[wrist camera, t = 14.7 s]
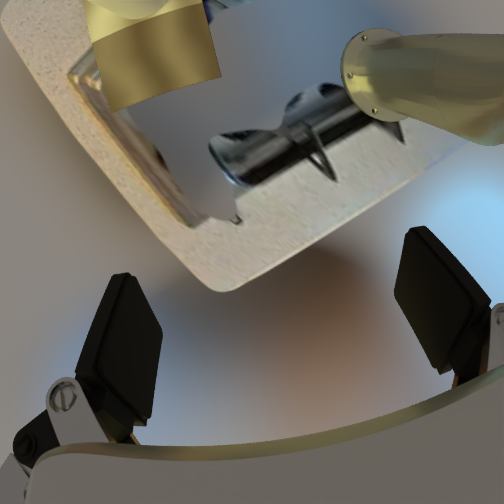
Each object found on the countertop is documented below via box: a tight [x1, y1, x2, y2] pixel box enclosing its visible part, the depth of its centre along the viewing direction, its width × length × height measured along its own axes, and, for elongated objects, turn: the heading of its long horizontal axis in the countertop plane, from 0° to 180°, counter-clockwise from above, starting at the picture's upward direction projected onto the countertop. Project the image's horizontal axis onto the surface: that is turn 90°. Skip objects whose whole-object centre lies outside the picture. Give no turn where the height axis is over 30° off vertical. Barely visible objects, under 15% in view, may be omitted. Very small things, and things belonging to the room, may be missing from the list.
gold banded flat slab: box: [83, 0, 221, 113], centre depth 22 cm, size 13×20×2 cm, turn 12°
